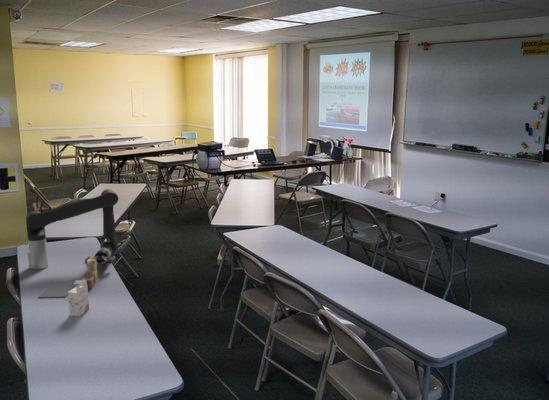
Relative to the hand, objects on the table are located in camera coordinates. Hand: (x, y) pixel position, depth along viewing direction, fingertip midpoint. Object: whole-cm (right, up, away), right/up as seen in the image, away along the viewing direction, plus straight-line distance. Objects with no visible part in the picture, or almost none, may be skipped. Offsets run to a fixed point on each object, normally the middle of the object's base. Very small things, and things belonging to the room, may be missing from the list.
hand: (95, 264), depth 266 cm
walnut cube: (+1, -10, -15) cm, 18 cm away
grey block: (0, -11, -22) cm, 25 cm away
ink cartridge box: (+9, -16, -43) cm, 47 cm away
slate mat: (-12, -11, -22) cm, 27 cm away
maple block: (+1, -8, -6) cm, 10 cm away
